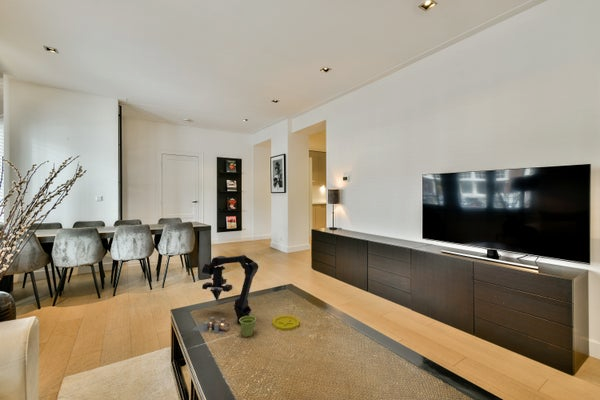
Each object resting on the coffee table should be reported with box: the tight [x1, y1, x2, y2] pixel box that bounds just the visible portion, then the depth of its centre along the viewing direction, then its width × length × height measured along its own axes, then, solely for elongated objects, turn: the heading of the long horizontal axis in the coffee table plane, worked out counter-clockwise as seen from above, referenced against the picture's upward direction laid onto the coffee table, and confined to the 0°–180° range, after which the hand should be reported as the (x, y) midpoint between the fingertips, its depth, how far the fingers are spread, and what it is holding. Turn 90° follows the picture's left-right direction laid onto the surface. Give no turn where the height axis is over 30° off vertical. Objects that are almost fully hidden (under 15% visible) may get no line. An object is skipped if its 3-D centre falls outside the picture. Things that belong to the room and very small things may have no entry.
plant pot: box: [239, 315, 257, 338], centre depth 153 cm, size 9×9×9 cm
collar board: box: [192, 316, 232, 335], centre depth 157 cm, size 20×10×6 cm, turn 77°
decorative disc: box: [271, 314, 301, 332], centre depth 167 cm, size 17×18×2 cm
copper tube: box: [207, 320, 230, 332], centre depth 156 cm, size 12×4×4 cm, turn 78°
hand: (217, 300), depth 172 cm, fingers closed
